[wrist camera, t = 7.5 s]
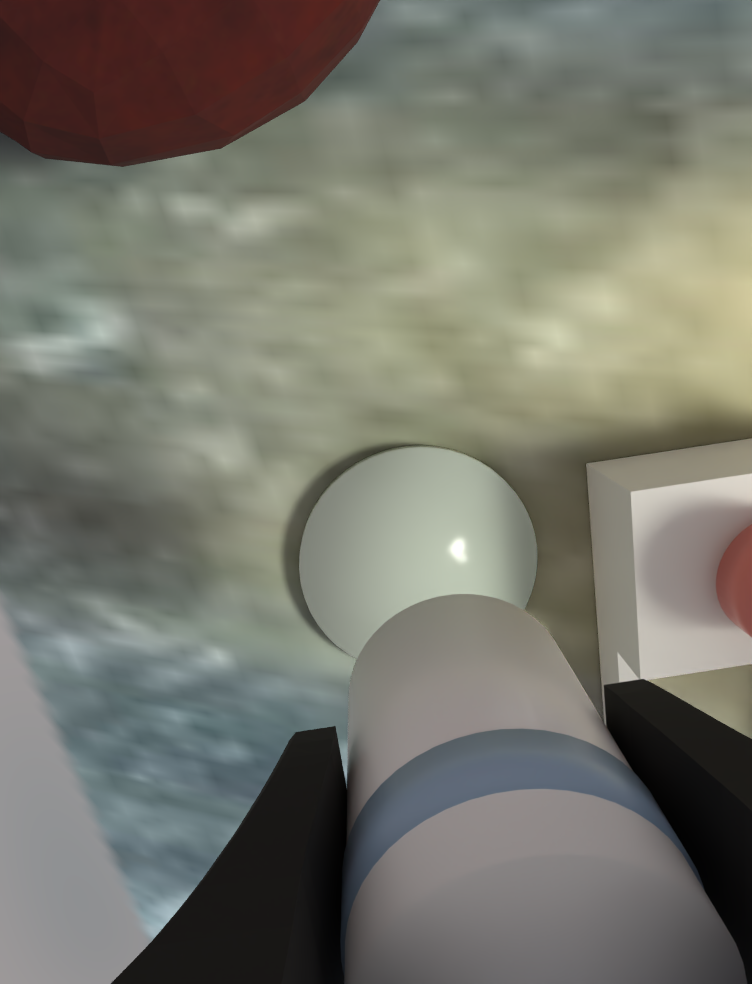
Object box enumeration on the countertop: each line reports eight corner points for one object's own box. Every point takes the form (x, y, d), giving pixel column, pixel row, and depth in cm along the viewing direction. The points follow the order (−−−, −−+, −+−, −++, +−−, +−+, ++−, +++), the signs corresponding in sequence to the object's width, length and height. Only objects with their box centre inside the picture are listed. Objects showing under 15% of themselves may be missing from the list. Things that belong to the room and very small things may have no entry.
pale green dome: (543, 648, 20) (546, 655, 20) (320, 682, 20) (320, 689, 20) (522, 428, 18) (526, 430, 18) (280, 465, 18) (279, 468, 18)
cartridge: (585, 768, 13) (766, 1131, 7) (372, 812, 13) (387, 1203, 8) (553, 569, 12) (735, 809, 6) (322, 618, 12) (294, 898, 6)
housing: (815, 784, 22) (888, 857, 19) (610, 816, 22) (651, 895, 19) (822, 427, 19) (910, 449, 16) (586, 463, 19) (630, 492, 16)
